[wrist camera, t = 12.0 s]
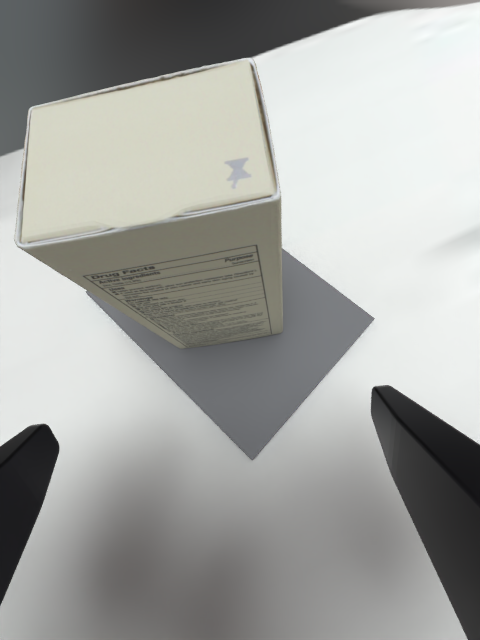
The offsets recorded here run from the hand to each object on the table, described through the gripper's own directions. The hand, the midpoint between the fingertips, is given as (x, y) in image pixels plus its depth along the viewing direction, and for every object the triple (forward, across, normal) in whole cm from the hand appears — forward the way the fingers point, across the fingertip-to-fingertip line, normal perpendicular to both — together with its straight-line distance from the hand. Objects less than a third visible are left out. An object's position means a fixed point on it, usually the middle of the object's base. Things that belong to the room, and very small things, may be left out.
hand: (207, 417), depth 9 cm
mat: (+11, 0, +2) cm, 11 cm away
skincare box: (+11, 0, +2) cm, 11 cm away
